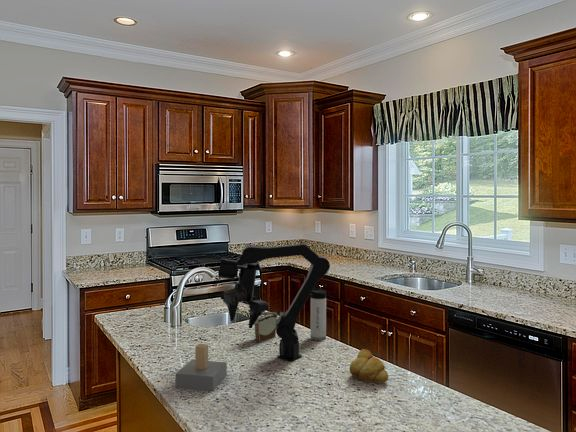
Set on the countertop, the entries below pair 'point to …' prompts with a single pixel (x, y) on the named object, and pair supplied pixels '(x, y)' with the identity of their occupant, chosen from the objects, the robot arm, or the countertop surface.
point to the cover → (201, 372)
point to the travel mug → (318, 314)
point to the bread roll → (368, 368)
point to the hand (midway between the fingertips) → (240, 324)
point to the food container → (265, 326)
